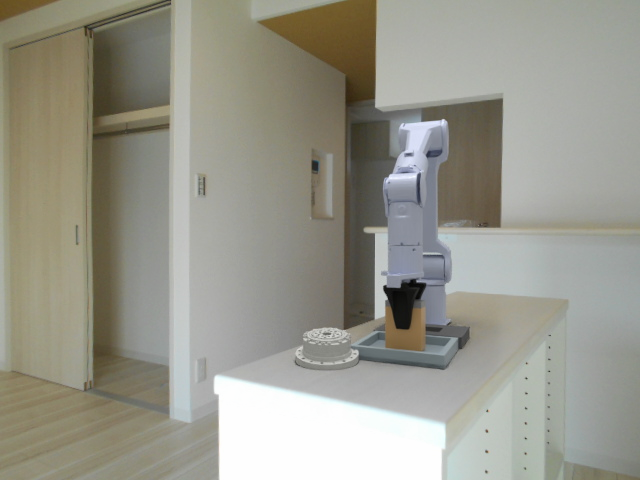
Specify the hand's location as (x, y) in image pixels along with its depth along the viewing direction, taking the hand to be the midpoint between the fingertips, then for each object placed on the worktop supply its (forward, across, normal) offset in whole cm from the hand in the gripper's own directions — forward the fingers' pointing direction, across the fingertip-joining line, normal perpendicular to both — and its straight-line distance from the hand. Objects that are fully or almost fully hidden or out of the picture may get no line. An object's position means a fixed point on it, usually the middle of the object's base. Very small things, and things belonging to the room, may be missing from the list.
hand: (405, 327), depth 76 cm
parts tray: (+4, 0, 0) cm, 4 cm away
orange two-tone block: (+3, 0, 0) cm, 3 cm away
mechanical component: (+5, +9, -10) cm, 15 cm away
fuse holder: (+4, -12, 0) cm, 13 cm away
